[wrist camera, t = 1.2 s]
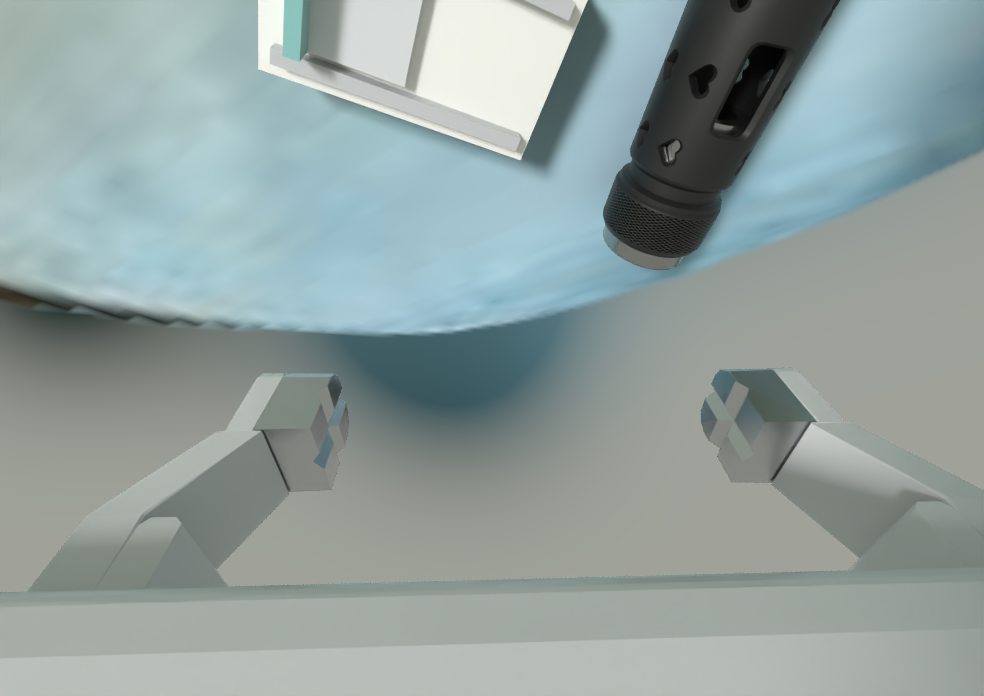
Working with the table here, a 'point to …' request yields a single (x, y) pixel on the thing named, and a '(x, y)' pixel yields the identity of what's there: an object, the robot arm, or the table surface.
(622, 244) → the muzzle brake
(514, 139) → the socket box
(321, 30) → the shutter
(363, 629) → the robot arm
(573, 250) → the table surface
